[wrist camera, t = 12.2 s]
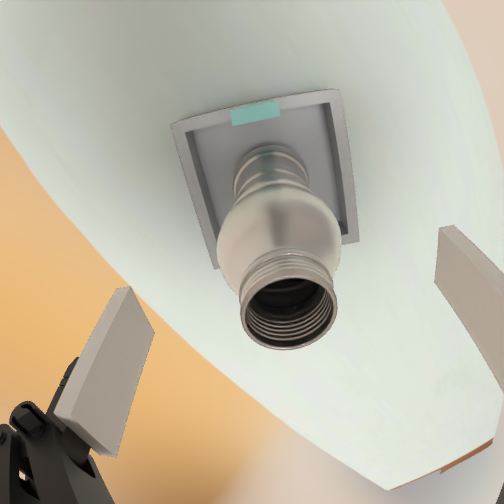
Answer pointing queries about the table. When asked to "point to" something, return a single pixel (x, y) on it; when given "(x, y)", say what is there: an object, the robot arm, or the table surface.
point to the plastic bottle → (280, 251)
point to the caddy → (260, 134)
